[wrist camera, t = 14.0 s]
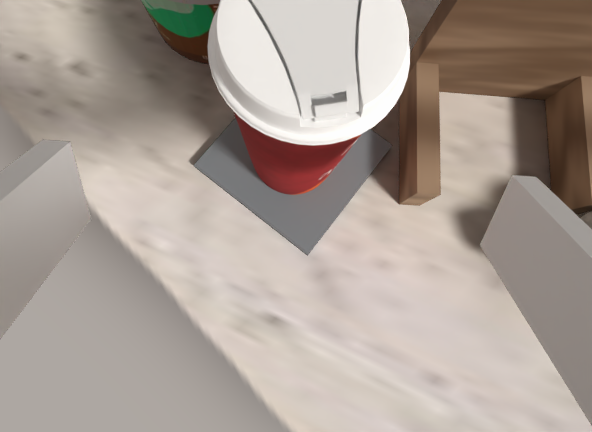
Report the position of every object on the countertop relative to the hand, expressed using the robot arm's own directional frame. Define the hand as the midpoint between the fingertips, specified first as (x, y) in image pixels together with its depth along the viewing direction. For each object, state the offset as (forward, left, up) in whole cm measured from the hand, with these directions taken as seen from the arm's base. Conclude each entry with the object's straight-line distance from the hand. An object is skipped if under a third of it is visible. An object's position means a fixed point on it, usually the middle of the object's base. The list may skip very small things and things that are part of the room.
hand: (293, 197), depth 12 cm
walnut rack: (-7, -15, -15) cm, 23 cm away
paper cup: (+3, -5, -14) cm, 16 cm away
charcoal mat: (+3, -5, -15) cm, 16 cm away
